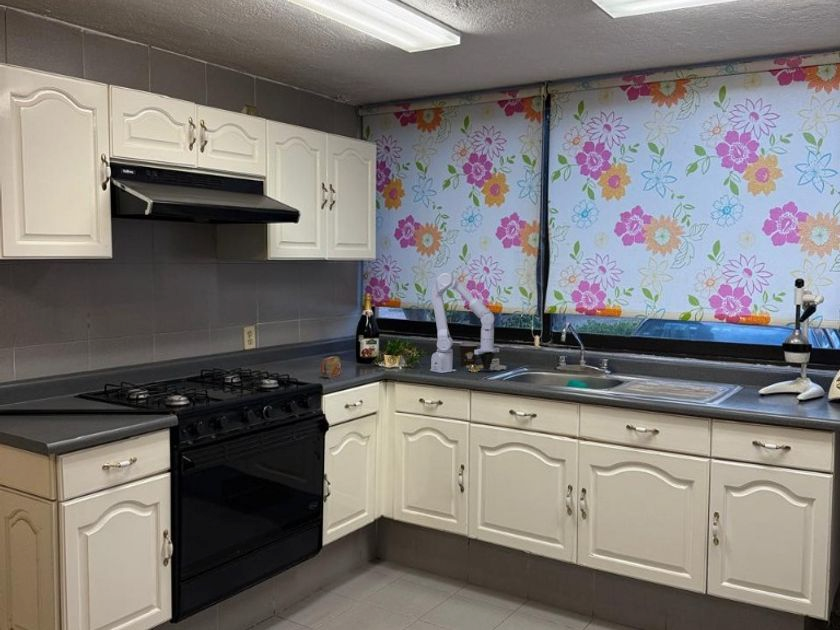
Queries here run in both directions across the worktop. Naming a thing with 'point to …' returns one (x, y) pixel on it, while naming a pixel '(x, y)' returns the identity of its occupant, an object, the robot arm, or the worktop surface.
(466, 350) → the coffee mug
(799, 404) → the worktop surface
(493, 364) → the stand
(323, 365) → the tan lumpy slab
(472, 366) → the cam
